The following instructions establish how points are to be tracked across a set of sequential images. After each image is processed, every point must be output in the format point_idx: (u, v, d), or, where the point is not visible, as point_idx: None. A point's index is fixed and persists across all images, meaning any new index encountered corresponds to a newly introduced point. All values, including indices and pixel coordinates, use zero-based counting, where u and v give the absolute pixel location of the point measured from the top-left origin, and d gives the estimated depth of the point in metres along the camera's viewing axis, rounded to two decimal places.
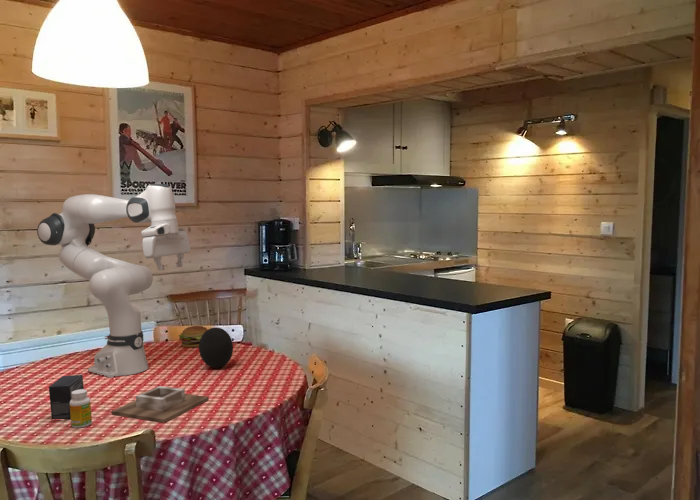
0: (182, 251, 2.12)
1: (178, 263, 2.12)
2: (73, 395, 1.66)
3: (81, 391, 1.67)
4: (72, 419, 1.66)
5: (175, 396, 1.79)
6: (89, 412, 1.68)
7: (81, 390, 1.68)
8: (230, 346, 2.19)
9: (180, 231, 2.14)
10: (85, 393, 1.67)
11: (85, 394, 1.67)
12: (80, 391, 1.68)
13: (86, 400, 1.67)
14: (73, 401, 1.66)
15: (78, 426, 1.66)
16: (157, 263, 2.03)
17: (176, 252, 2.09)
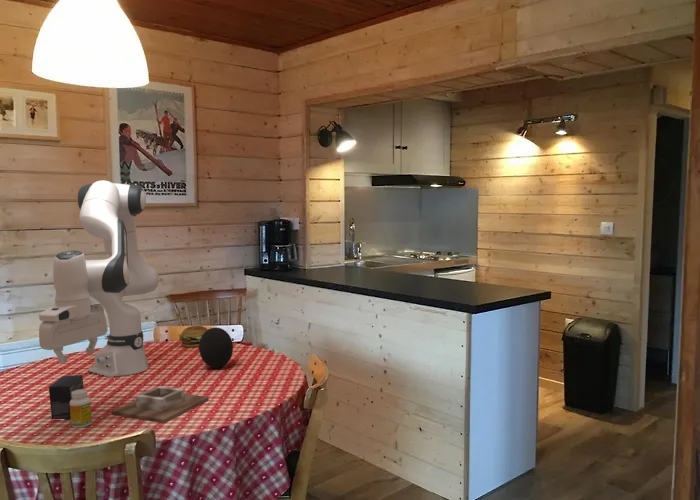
0: (95, 335, 1.70)
1: (89, 349, 1.70)
2: (73, 395, 1.66)
3: (81, 391, 1.67)
4: (72, 419, 1.66)
5: (175, 396, 1.79)
6: (89, 412, 1.68)
7: (81, 390, 1.68)
8: (230, 346, 2.19)
9: (95, 309, 1.72)
10: (85, 393, 1.67)
11: (85, 394, 1.67)
12: (80, 391, 1.68)
13: (86, 400, 1.67)
14: (73, 401, 1.66)
15: (78, 426, 1.66)
16: (57, 354, 1.61)
17: (86, 338, 1.67)
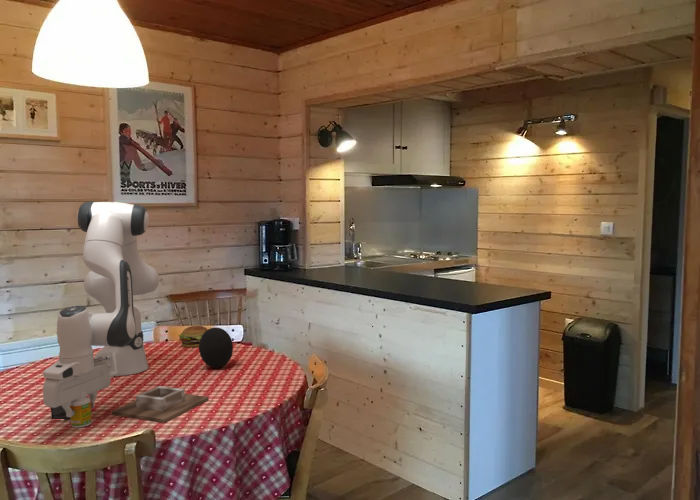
0: (98, 388, 1.72)
1: None
2: None
3: None
4: (72, 419, 1.66)
5: (175, 396, 1.79)
6: (89, 412, 1.68)
7: None
8: (230, 346, 2.19)
9: (98, 362, 1.73)
10: (85, 393, 1.67)
11: (85, 394, 1.67)
12: None
13: (86, 400, 1.67)
14: (73, 401, 1.66)
15: (78, 426, 1.66)
16: (65, 409, 1.64)
17: (89, 392, 1.69)
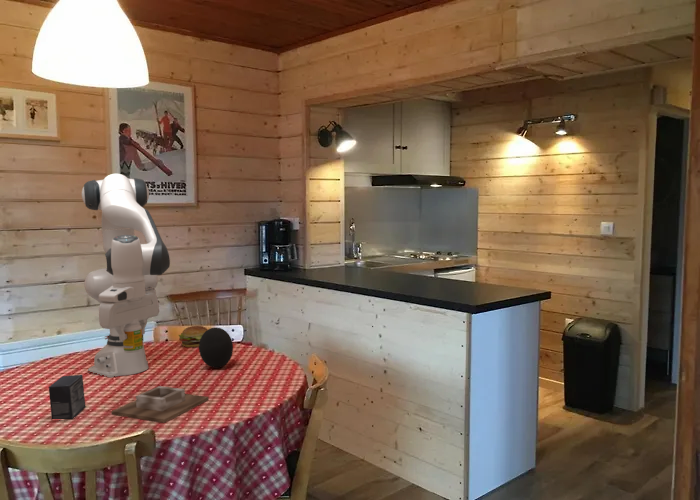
0: (148, 316, 1.78)
1: None
2: None
3: None
4: (125, 344, 1.73)
5: (175, 396, 1.79)
6: (141, 338, 1.75)
7: None
8: (230, 346, 2.19)
9: (148, 291, 1.80)
10: (137, 320, 1.74)
11: (137, 321, 1.74)
12: None
13: (138, 327, 1.74)
14: (126, 327, 1.73)
15: (131, 351, 1.73)
16: (119, 332, 1.71)
17: (140, 318, 1.76)
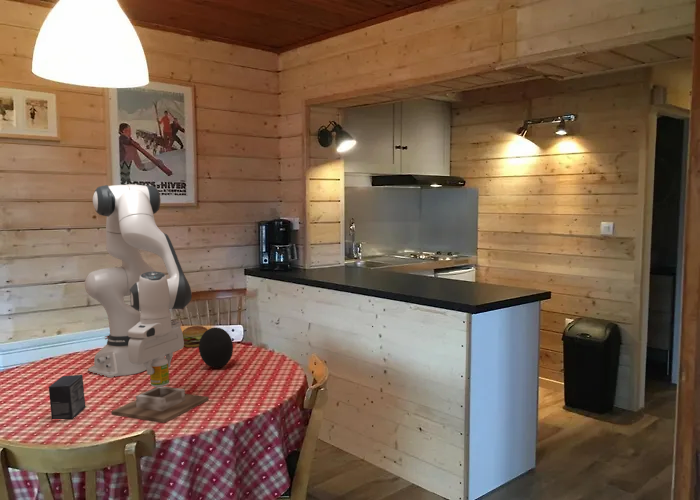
0: (174, 349, 1.83)
1: None
2: None
3: None
4: (152, 379, 1.78)
5: (175, 396, 1.79)
6: (167, 372, 1.79)
7: None
8: (230, 346, 2.19)
9: (173, 325, 1.85)
10: (164, 355, 1.79)
11: (164, 356, 1.79)
12: None
13: (165, 362, 1.78)
14: (153, 362, 1.77)
15: (158, 385, 1.78)
16: (147, 367, 1.75)
17: (167, 352, 1.80)
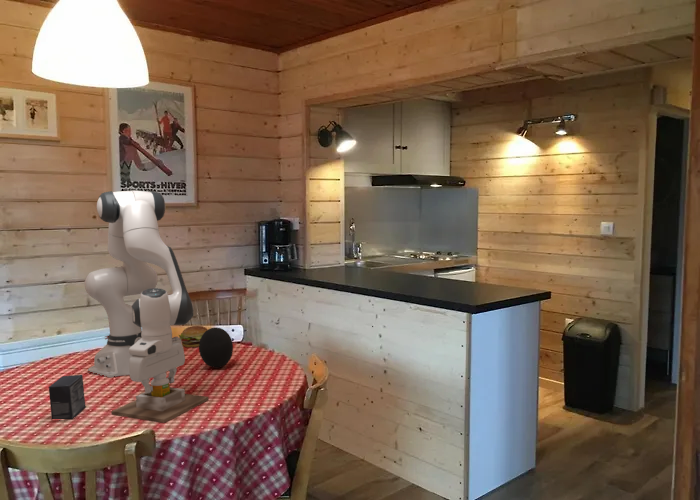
0: (175, 366, 1.84)
1: (169, 379, 1.84)
2: (154, 376, 1.78)
3: None
4: None
5: (175, 396, 1.79)
6: (168, 392, 1.80)
7: None
8: (230, 346, 2.19)
9: (174, 341, 1.85)
10: (165, 374, 1.80)
11: (165, 375, 1.80)
12: None
13: (166, 381, 1.79)
14: (154, 381, 1.78)
15: None
16: (144, 385, 1.75)
17: (168, 369, 1.81)
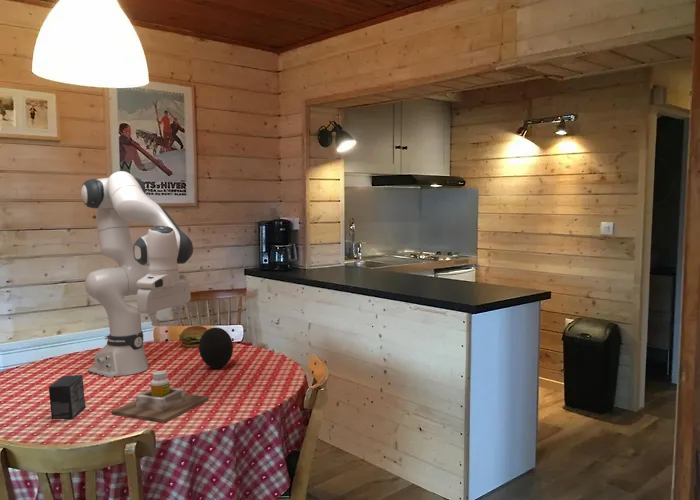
0: (181, 302, 1.89)
1: (175, 315, 1.90)
2: (154, 376, 1.78)
3: (161, 372, 1.79)
4: None
5: (175, 396, 1.79)
6: (168, 392, 1.80)
7: (161, 371, 1.81)
8: (230, 346, 2.19)
9: (181, 279, 1.91)
10: (165, 374, 1.80)
11: (165, 375, 1.80)
12: (160, 372, 1.80)
13: (166, 381, 1.79)
14: (154, 381, 1.78)
15: None
16: (151, 318, 1.81)
17: (174, 304, 1.87)
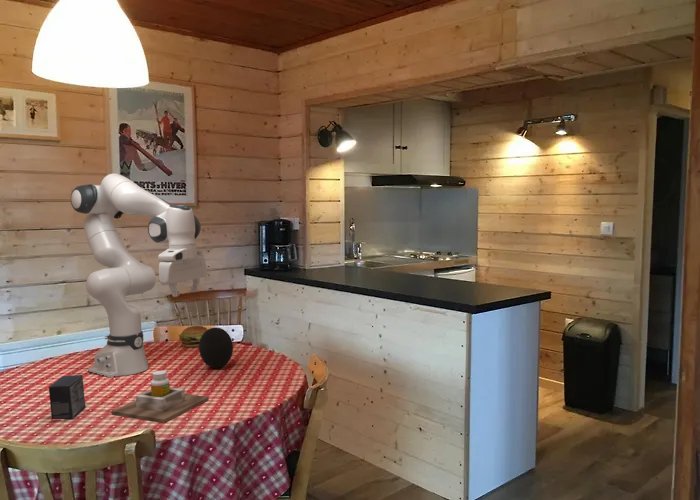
0: (198, 276, 2.03)
1: (193, 288, 2.03)
2: (154, 376, 1.78)
3: (161, 372, 1.80)
4: None
5: (175, 396, 1.79)
6: (168, 392, 1.80)
7: (161, 371, 1.81)
8: (230, 346, 2.19)
9: (198, 254, 2.05)
10: (165, 374, 1.80)
11: (165, 375, 1.80)
12: (160, 372, 1.80)
13: (166, 381, 1.79)
14: (154, 381, 1.78)
15: None
16: (172, 289, 1.94)
17: (192, 277, 2.00)
